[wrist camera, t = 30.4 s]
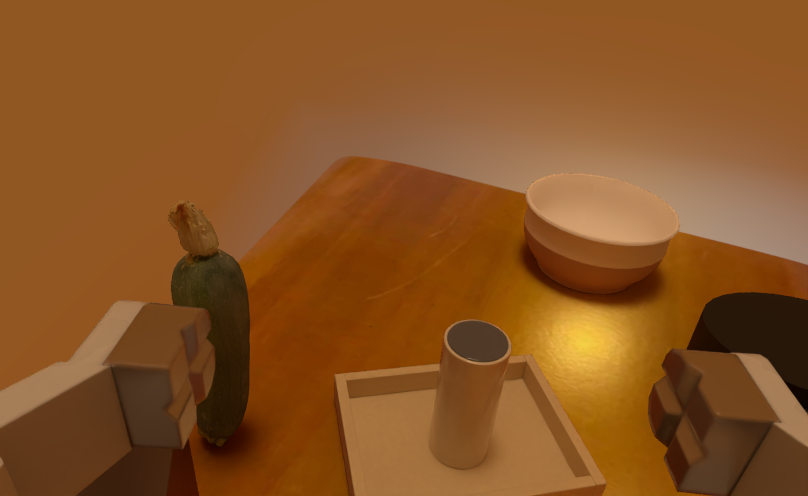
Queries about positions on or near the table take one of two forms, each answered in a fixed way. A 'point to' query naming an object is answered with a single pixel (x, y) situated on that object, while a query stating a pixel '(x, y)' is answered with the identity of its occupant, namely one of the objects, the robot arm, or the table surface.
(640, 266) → the bowl
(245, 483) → the table surface
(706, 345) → the black flat-topped cap
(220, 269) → the vegetable
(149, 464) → the pedestal
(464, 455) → the cylinder
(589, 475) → the tray
